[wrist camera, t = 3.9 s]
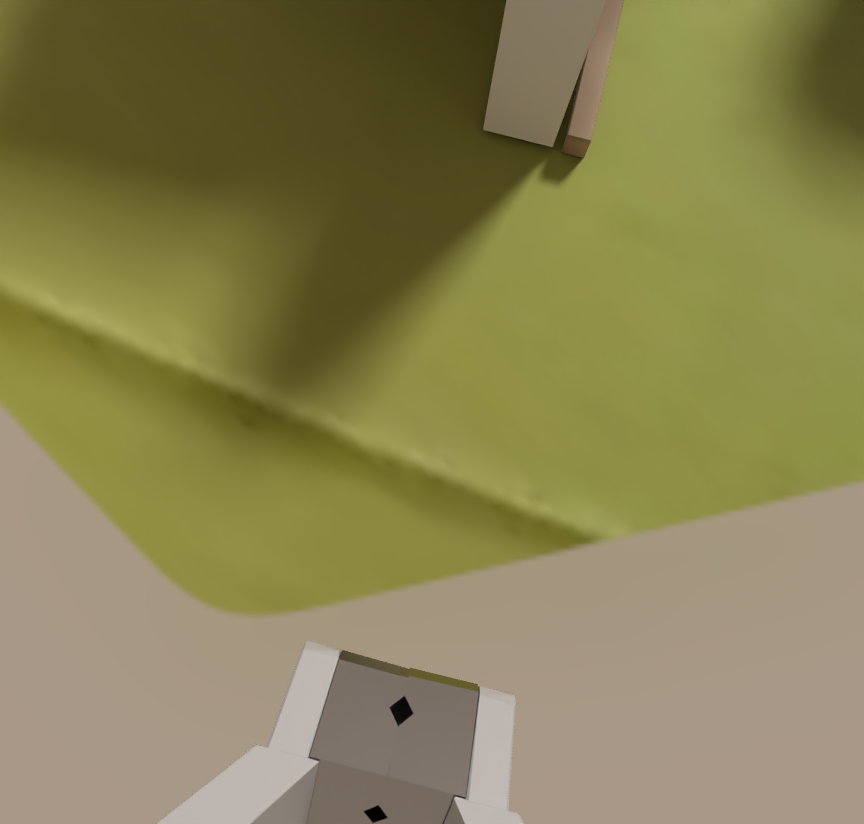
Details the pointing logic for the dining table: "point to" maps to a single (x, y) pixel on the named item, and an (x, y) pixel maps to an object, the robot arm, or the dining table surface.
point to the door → (538, 66)
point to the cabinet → (592, 81)
